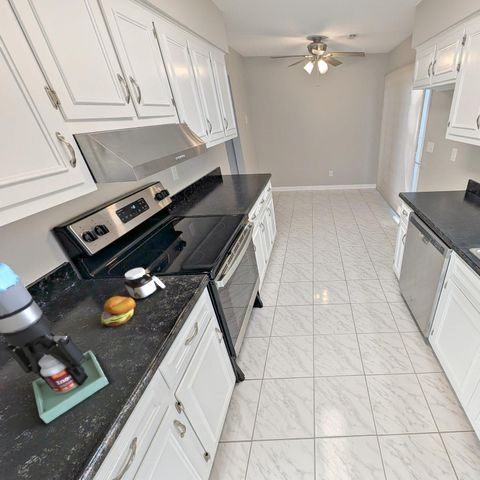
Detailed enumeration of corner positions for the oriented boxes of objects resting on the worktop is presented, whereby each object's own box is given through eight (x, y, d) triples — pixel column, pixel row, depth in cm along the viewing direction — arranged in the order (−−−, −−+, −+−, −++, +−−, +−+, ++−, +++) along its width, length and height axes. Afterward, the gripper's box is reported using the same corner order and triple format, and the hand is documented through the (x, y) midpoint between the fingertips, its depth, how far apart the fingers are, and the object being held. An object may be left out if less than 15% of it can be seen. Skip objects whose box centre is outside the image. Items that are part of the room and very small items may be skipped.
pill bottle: (65, 397, 68) (42, 370, 63) (50, 391, 70) (27, 364, 65) (90, 376, 73) (70, 350, 68) (75, 371, 75) (56, 345, 70)
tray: (38, 388, 72) (32, 381, 71) (94, 356, 81) (90, 349, 80) (46, 423, 63) (39, 416, 62) (108, 383, 72) (104, 376, 71)
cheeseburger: (105, 315, 98) (101, 293, 95) (138, 310, 103) (136, 289, 100) (98, 332, 90) (94, 309, 87) (135, 326, 95) (132, 304, 92)
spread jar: (128, 298, 107) (116, 276, 102) (151, 282, 117) (141, 261, 111) (149, 302, 104) (138, 279, 98) (171, 286, 113) (162, 264, 108)
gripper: (76, 307, 65) (114, 366, 76) (-5, 316, 64) (45, 375, 74) (52, 329, 59) (97, 391, 69) (-39, 340, 57) (21, 401, 68)
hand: (70, 382), depth 72 cm, fingers closed on pill bottle, 6 cm apart
